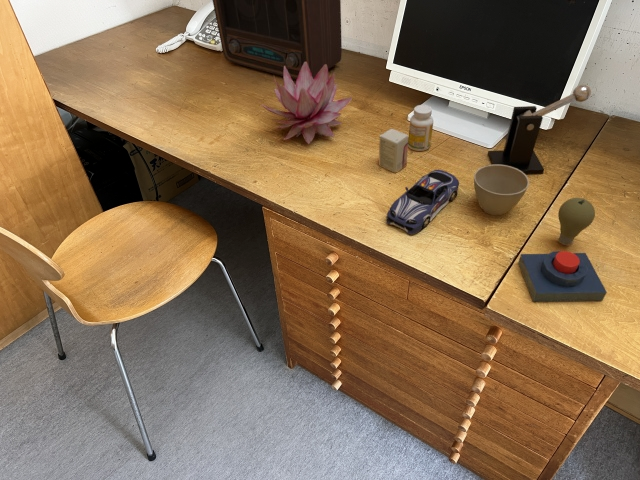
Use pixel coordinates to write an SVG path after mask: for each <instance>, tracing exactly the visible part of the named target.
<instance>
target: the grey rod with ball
mask: <svg viewBox="0 0 640 480" xmlns="http://www.w3.org/2000/svg"><path fill="white" fill-rule="evenodd" d="M591 94H592V90H591V88H590V86H589V85H587V84H580V85H577V86H576V87H575V88H574V89H573V91H572V93H571V94H570V95H567V96H565V97H563V98H561V99H559V100H557V101H555V102H553V103H550V104H548V105H547V106H544V107H543V108H540V109H538V110H536V112H534V113H531V111H530V110H528V111H526V112H524V113H522V114H520V115H518V116H516V117H517V119H518V120H519V116H540V115H541V116H542V117H543V116H546V115H547V114H550V113H552V112H555V111H556V110H558V109H560V108H562V107H564V106H567V105H568V104H571V103H573V102H575V101H576V102H579V103H581V102H585V101H587V100H588V99H589V98H590V97H591Z"/></svg>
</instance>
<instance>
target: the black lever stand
mask: <svg viewBox="0 0 640 480" xmlns="http://www.w3.org/2000/svg"><path fill="white" fill-rule="evenodd" d="M537 109H538V108H537V106H536V105H526V106H513V109H512V114H511V118H510V122H509V126H508V131H507V134H506V139H505V142H504V147H503V150H488V152H487V157H488V159H489V160H488V161H489V162H490V165H496V164H498V165H507V166H511V167H514V168H516V169H518V170H520V171H522V172H523V173H524V174H525V175H543V174H544V172H545V168H544V166H543V164H542V163H541V161H540V159H539V157H538V156H537V154H536V152H535V150H534V149H535V147H536V143H537V141H538V137H539V134H540V133H539V132H540V129H541V125H542V122H543V120H544V118H543V116H541V115H540V116H519V120H518V119H517V117H516V116H518V115H520V114H522V113H524V112H526V111H528V110H530V111H531V113H534V112H536V111H537Z"/></svg>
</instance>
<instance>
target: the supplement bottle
mask: <svg viewBox="0 0 640 480" xmlns="http://www.w3.org/2000/svg"><path fill="white" fill-rule="evenodd" d="M432 112H433V109H432V107H431V106H429V105H426V104H418V105H416V106H414V108H413V114H412V116H411V117H410V118H409V125H408V126H409V127H408V148H409V149H411V150H412V151H415V152H424V151H427V150H429V148H430V146H431V144H432V143H431V142H432V135H433V128H434V118H433V116H432V114H433V113H432Z"/></svg>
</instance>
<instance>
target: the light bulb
mask: <svg viewBox="0 0 640 480" xmlns="http://www.w3.org/2000/svg"><path fill="white" fill-rule="evenodd" d="M557 216H558V217H557V218H558V221H559V225H560V227H559V230H560V231H559V232H560V234H559V236H558V237H557V240H558V242H559V243H560V244H561V245H562V246H571V245H572V244H573V243H574V240H575V238H576V237H578V236H579V235H580V234H581V232H582V231H584V230H586V229H587V228H588V227H590V226H591V225H592V224H593V222H594V220H595V217H596V210H595V207H594V205H593V204H592V203H591V202H590V201H589V200H588V199H586V198H582V197H572V198H569V199H567V200H565V201H564V202H563V203H562V204H561V205H560V207H559V210H558V214H557Z"/></svg>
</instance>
